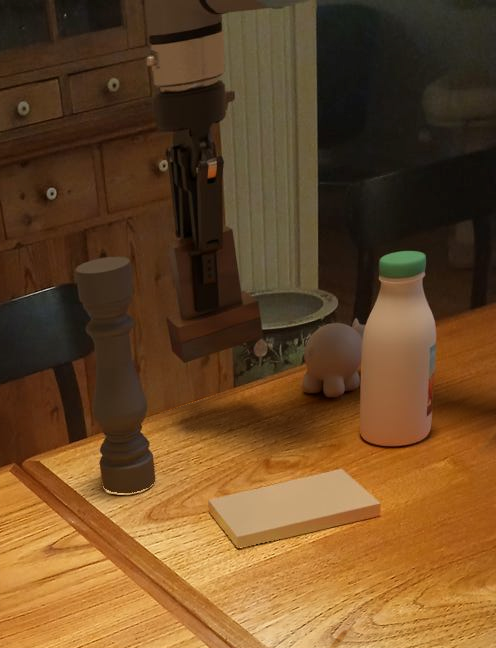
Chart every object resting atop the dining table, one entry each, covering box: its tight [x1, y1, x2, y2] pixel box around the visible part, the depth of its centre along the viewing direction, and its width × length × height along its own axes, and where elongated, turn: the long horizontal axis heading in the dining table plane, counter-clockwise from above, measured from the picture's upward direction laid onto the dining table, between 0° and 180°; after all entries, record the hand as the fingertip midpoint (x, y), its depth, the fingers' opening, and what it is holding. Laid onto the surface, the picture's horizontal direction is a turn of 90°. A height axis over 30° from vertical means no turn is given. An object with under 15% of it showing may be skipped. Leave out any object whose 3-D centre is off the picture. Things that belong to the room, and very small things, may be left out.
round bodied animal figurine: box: [301, 317, 366, 398], centre depth 126 cm, size 7×12×8 cm, turn 121°
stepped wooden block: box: [165, 224, 264, 364], centre depth 117 cm, size 10×5×13 cm, turn 99°
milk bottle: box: [359, 250, 437, 447], centre depth 108 cm, size 8×8×20 cm
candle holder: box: [74, 256, 156, 493], centre depth 108 cm, size 6×6×25 cm
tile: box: [207, 468, 382, 549], centre depth 102 cm, size 15×9×2 cm, turn 99°
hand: (202, 305), depth 118 cm, fingers closed on stepped wooden block, 3 cm apart
